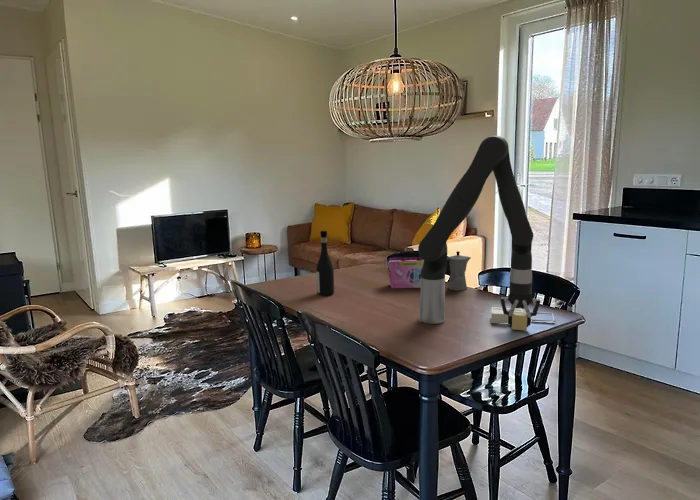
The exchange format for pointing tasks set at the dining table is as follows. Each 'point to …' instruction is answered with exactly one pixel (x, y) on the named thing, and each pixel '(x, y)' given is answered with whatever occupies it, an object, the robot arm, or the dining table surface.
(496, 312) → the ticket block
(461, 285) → the coffeepot
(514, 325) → the beige block
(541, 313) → the tray
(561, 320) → the dining table surface
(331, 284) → the wine bottle
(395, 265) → the gum box
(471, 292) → the dining table surface
